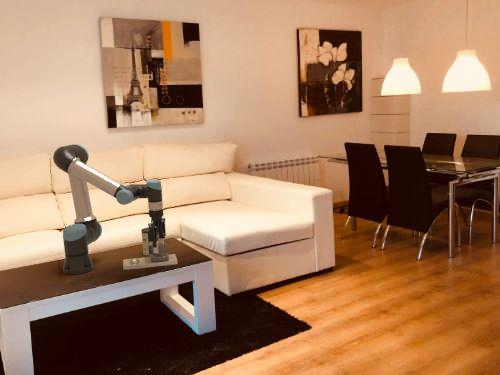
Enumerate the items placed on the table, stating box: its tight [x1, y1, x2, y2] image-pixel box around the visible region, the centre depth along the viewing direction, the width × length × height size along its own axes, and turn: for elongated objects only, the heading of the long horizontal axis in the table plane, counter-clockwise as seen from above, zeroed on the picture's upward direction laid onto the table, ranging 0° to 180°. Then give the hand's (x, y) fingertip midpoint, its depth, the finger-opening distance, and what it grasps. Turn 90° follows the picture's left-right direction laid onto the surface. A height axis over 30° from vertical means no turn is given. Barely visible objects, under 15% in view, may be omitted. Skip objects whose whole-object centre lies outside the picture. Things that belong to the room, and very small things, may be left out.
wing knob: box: [149, 243, 170, 262], centre depth 273 cm, size 10×10×8 cm
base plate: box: [122, 253, 178, 271], centre depth 273 cm, size 28×12×3 cm, turn 104°
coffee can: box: [140, 227, 159, 256], centre depth 291 cm, size 10×10×14 cm
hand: (159, 251), depth 273 cm, fingers closed on wing knob, 5 cm apart
